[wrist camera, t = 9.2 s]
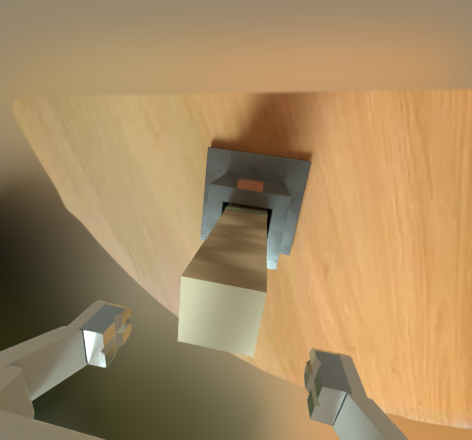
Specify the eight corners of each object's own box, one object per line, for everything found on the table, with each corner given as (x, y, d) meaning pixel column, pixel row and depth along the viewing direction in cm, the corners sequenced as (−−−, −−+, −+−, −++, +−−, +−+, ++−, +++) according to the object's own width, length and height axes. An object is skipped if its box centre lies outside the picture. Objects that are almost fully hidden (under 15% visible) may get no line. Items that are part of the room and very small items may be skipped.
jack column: (267, 204, 25) (268, 291, 10) (261, 236, 26) (254, 358, 11) (231, 198, 25) (180, 275, 10) (227, 231, 27) (176, 341, 12)
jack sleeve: (309, 161, 30) (332, 169, 20) (288, 251, 35) (297, 298, 24) (210, 147, 32) (180, 147, 21) (202, 236, 36) (175, 274, 25)
